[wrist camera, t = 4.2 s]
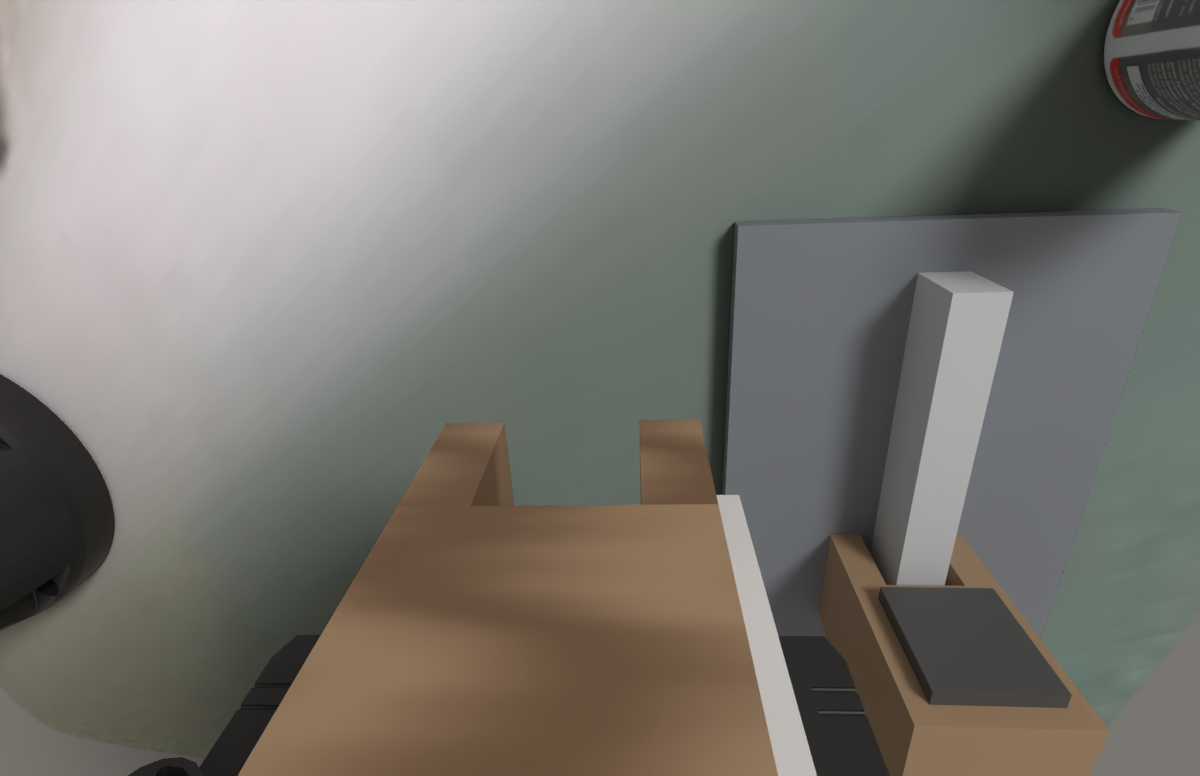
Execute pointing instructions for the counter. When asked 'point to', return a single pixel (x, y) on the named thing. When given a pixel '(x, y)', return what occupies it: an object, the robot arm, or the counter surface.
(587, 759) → the notched tan block
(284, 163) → the counter surface
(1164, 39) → the pill bottle
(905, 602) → the rail
